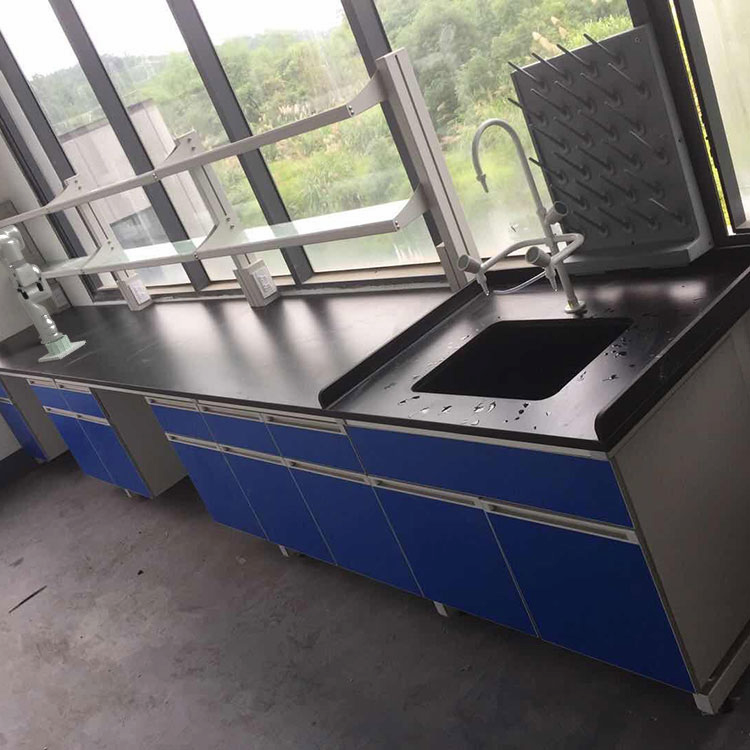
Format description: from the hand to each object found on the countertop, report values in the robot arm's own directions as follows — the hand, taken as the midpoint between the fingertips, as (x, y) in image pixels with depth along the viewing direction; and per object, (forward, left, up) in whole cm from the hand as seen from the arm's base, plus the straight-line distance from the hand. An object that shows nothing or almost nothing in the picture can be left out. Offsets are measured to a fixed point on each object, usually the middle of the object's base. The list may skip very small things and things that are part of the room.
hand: (34, 295), depth 408 cm
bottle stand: (+2, -3, -32) cm, 32 cm away
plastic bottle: (+3, -3, -31) cm, 31 cm away
